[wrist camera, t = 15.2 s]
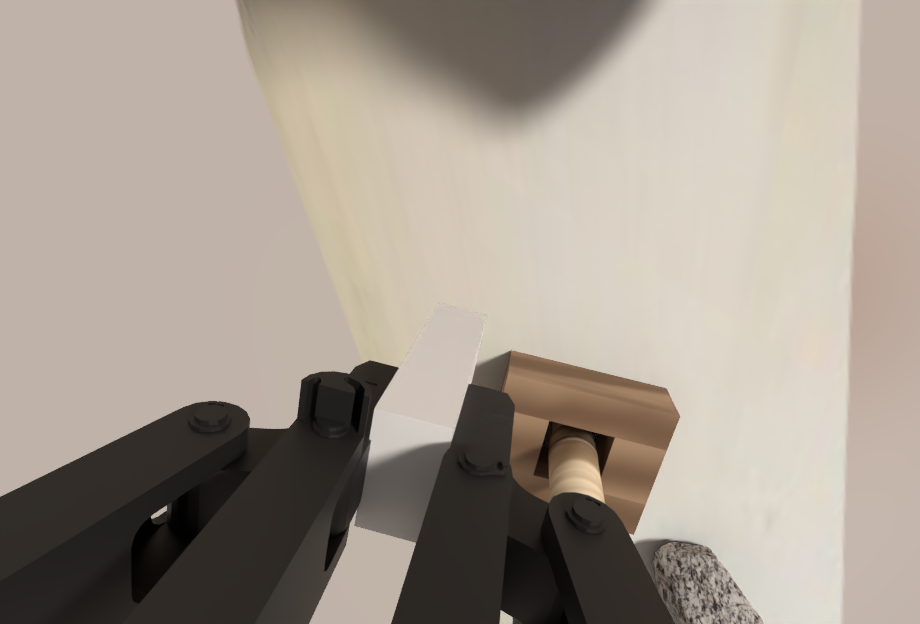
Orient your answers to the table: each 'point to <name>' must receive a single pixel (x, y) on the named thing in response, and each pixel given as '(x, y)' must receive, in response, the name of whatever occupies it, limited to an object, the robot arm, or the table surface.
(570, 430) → the peg
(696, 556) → the rock
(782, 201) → the table surface
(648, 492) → the board
